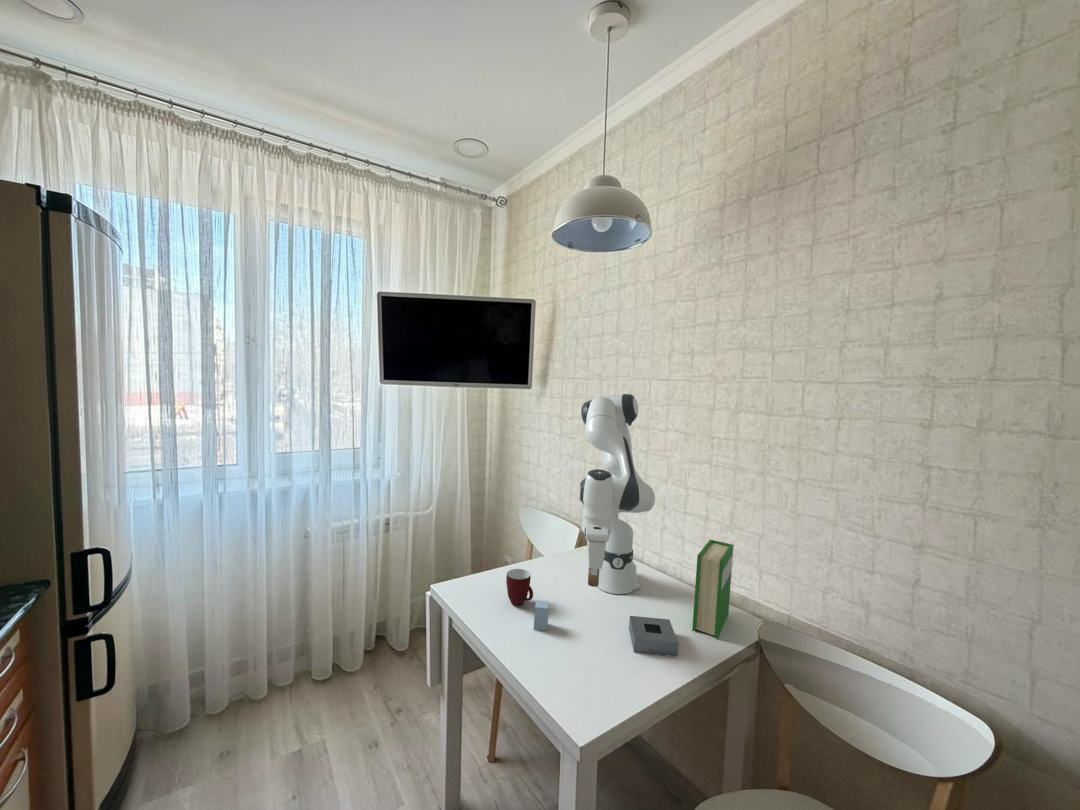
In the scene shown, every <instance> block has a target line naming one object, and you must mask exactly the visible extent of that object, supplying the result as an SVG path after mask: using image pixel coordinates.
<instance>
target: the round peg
mask: <svg viewBox="0 0 1080 810" xmlns="http://www.w3.org/2000/svg"><path fill="white" fill-rule="evenodd" d="M587 575H588V576H587V585H588V586H589V587H594V588H595V587H596V586H598V585H599V569H598V570H597V575H592V574H591V568H590V567H589V566H588V573H587ZM596 588H597V587H596Z"/></svg>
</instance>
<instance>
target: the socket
mask: <svg viewBox="0 0 1080 810" xmlns="http://www.w3.org/2000/svg"><path fill="white" fill-rule="evenodd" d="M628 619H629V620H628V621H629V622H628V630H629V634H630V635H629V636H630V640H631V645H632V649H633V650H632V651H633V653H635V654H637V653H639V654H646V653H649V654H648V655H655V654H659V655H658V656H665V655H670V656H669V657H675V656H678V654H679V641H678V638H677V636H676V632H675V631H674V627H673V626H672V622H671V619H669V618H667V619H666V618H658V617H657V618H656V617H649V616H648V617H647V616H640V615H639V616H636V615H629V618H628Z"/></svg>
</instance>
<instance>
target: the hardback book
mask: <svg viewBox="0 0 1080 810" xmlns="http://www.w3.org/2000/svg"><path fill="white" fill-rule="evenodd" d="M733 555H734V544H732V543H728V542H723V541H718V540H714V539H709V540H708V541H707V543H706V544H705V545H704V546H703V548H702V549H701V550H700V552H699V553H698V554H697V556H696V557H697V559H696V573H695V584H694V585H695V586H694V587H695V588H694V599H693V600H694V601H693V616H692V629H691V631H692V632H693V631H696V632H697V630H698V631H701V632H703V633H707V634H709V635H712V636H713V637H714V638H716V639H718V640H719V638H720V636H719V635H721V633H722V631H721V630H723V629H722V628H724V626H725V624H726V622H727V619H728V617H727V616H729V611H730V610H729V609H730V595H731V583H732V582H731V581H732V570H733V569H732V567H733V557H734V556H733ZM726 618H727V619H726ZM725 621H726V622H725ZM724 623H725V624H724ZM723 625H724V626H723ZM696 629H697V630H696ZM720 632H721V633H720ZM718 637H719V638H718ZM716 639H715V640H716Z"/></svg>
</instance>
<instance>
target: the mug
mask: <svg viewBox="0 0 1080 810" xmlns="http://www.w3.org/2000/svg"><path fill="white" fill-rule="evenodd" d="M505 579H506V580H505V581H506V583H505V584H506V589H507V597H508V599H509V601H510V603H511V604H512V606H516V607H519V606H523V604H524V603H525V602H530V601H531V600H532V599H533V598H534V591H533V587H532V586H530V585H531V579H532V577H531V572H530V571H529V570H527V569H523V568H514V569H513V568H512V569H510V570H508V571H507V572H506V578H505ZM528 596H529V597H528Z"/></svg>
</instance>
